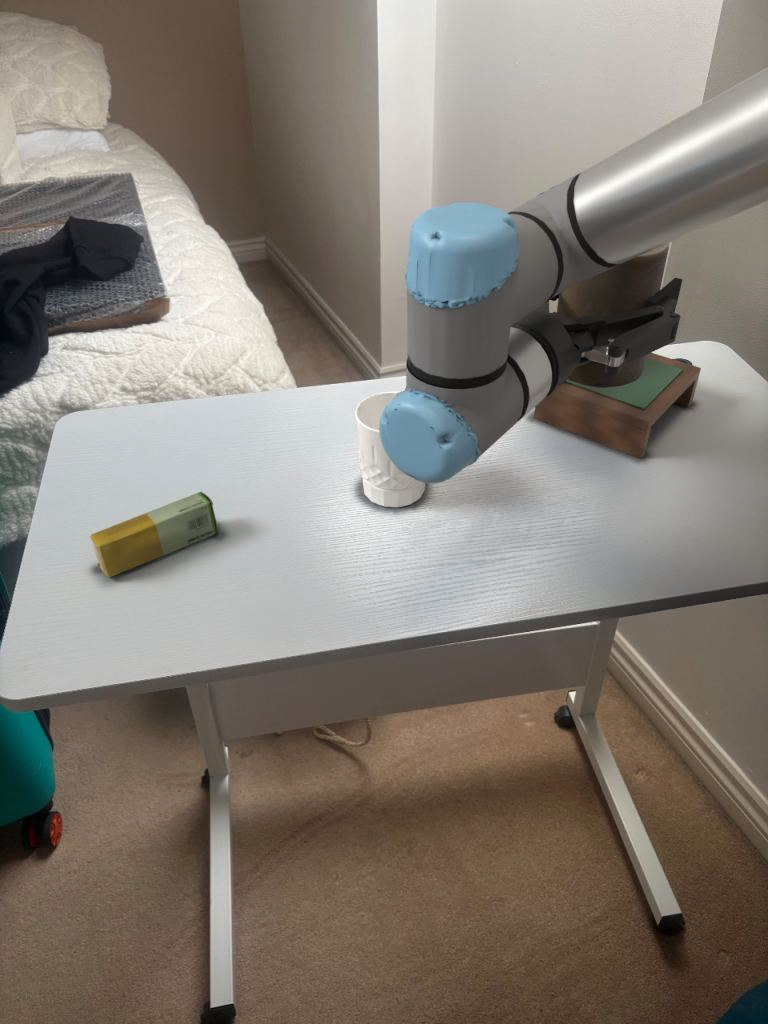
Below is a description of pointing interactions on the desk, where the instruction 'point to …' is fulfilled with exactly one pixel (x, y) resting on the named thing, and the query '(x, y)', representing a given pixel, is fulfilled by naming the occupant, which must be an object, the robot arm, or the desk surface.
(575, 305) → the pillar candle
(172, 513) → the medication box
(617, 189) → the robot arm
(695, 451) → the desk surface
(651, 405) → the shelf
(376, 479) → the white cup
